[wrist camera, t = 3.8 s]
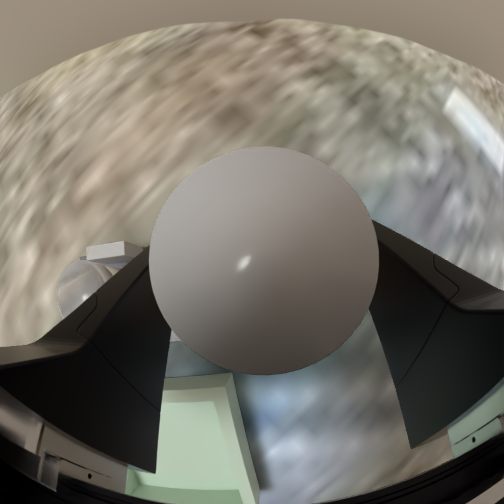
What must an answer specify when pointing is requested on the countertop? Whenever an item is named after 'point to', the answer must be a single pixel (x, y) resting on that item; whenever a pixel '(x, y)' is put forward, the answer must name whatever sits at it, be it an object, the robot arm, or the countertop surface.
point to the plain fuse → (80, 283)
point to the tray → (199, 446)
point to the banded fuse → (264, 260)
